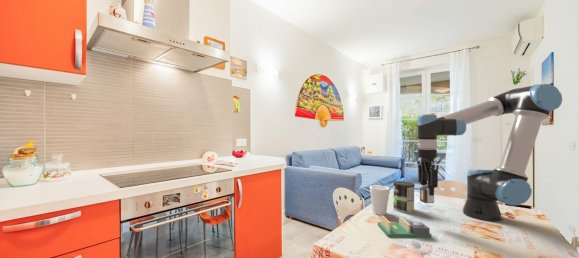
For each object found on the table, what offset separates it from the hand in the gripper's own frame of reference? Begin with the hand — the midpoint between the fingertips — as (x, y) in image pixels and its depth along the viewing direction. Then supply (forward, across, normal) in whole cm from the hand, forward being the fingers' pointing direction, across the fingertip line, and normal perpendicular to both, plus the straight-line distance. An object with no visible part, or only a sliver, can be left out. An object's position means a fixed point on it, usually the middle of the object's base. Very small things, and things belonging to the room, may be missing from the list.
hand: (427, 200), depth 110 cm
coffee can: (+11, -21, -1) cm, 24 cm away
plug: (0, 0, 0) cm, 1 cm away
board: (+11, +8, -14) cm, 19 cm away
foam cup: (+11, -15, -16) cm, 25 cm away
